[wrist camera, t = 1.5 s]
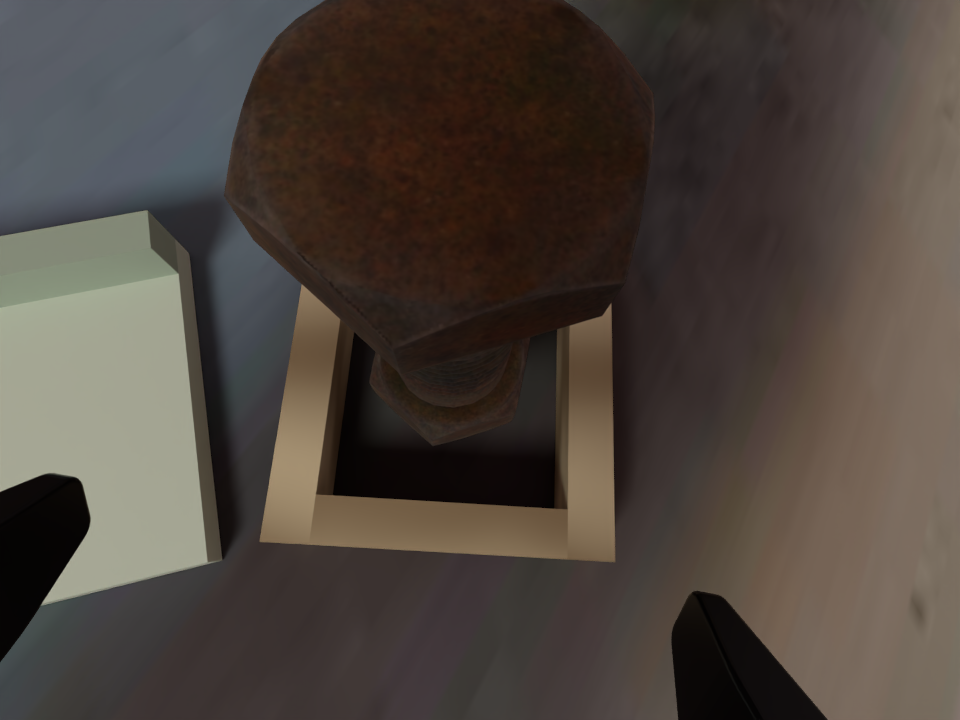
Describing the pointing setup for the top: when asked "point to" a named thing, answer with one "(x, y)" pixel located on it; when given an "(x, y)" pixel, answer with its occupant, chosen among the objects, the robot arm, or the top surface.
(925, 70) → the top surface
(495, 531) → the socket
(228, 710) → the top surface
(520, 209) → the bolt
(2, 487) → the pale green ledge plate
